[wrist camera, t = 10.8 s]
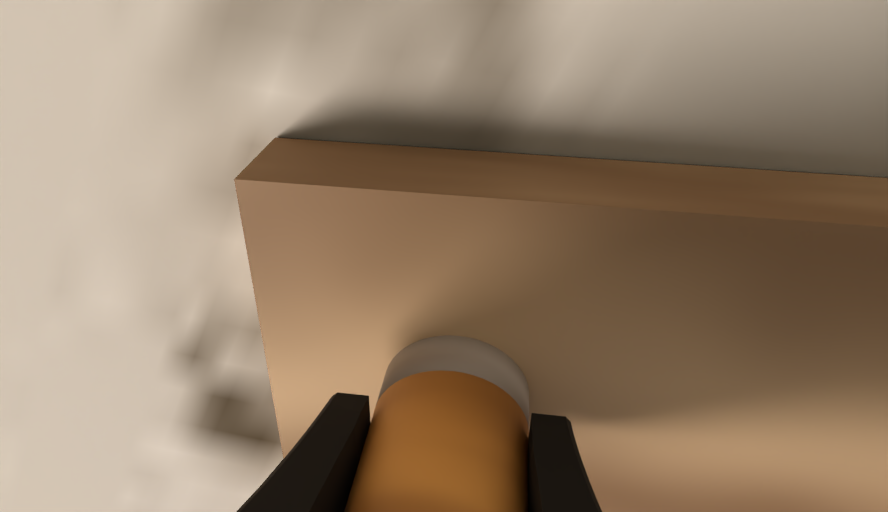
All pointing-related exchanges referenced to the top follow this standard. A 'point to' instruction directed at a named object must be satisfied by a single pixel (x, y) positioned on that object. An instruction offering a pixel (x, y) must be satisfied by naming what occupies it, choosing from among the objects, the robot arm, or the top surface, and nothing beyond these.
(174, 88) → the top surface
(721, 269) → the subfloor panel
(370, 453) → the orange tube
